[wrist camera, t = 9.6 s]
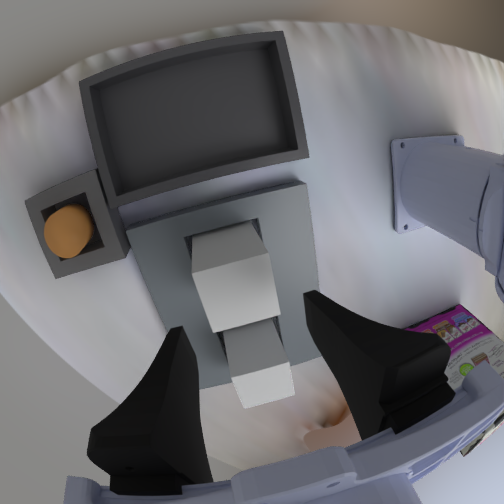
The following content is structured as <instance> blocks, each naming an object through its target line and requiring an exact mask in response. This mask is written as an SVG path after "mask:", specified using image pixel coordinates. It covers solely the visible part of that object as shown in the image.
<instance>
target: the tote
mask: <svg viewBox="0 0 504 504" xmlns="http://www.w3.org/2000/svg"><path fill="white" fill-rule="evenodd" d="M79 87H80V92H81V98H82V103H83V108H84V113H85V118H86V122H87V127H88V131H89V135H90V139H91V143H92V147H93V151H94V155H95V159H96V162H97V166H98V170H99V173H100V176H101V180H102V183H103V186H104V190H105V193H106V196H107V199H108V202H109V205H110V208H111V209H113V208H116V207H119V206H122V205H125V204H128V203H131V202H134V201H137V200H140V199H143V198H147V197H150V196H153V195H156V194H160V193H163V192H166V191H170V190H173V189H177V188H180V187H184V186H188V185H191V184H195V183H199V182H202V181H206V180H210V179H214V178H218V177H222V176H226V175H230V174H234V173H238V172H243V171H247V170H251V169H256V168H260V167H265V166H270V165H274V164H279V163H284V162H289V161H294V160H299V159H305V158H309V152H308V146H307V140H306V134H305V129H304V123H303V118H302V113H301V108H300V103H299V98H298V93H297V88H296V83H295V79H294V74H293V70H292V65H291V61H290V57H289V53H288V49H287V45H286V41H285V37H284V33H283V31H275V32H262V33H253V34H244V35H237V36H230V37H224V38H218V39H212V40H207V41H202V42H197V43H192V44H188V45H184V46H180V47H176V48H172V49H168V50H164V51H161V52H157V53H154V54H150V55H147V56H144V57H141V58H138V59H135V60H132V61H129V62H126V63H123V64H120V65H118V66H115V67H112V68H110V69H107V70H105V71H102V72H100V73H97V74H95V75H93V76H90V77H88V78H86V79H84V80H81V81H79Z"/></svg>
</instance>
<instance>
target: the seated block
mask: <svg viewBox="0 0 504 504" xmlns="http://www.w3.org/2000/svg"><path fill="white" fill-rule="evenodd" d="M223 335H224V341H225V347H226V353H227V359H228V364H229V370H230V375H231V379H232V382H233V384H234V386H235V389H236V391H237V394H238V396H239V398H240V401H241V403H242V405H243V407H244V409H245V408H249V407H253V406H257V405H261V404H265V403H269V402H272V401H276V400H279V399H283V398H286V397H289V396H292V395H295V392H294V386H293V380H292V374H291V369H290V363H289V360H288V357H287V355H286V353H285V350H284V348H283V345H282V343H281V340H280V338H279V336H278V333H277V331H276V328H275V326H274V323H273V321H272V318H271V317H270V318H267V319H263V320H260V321H256V322H253V323H249V324H246V325H242V326H238V327H234V328H231V329H227V330H223Z"/></svg>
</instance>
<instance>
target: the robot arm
mask: <svg viewBox="0 0 504 504" xmlns="http://www.w3.org/2000/svg"><path fill="white" fill-rule="evenodd" d="M401 143H402V147H401V146H400V145H401ZM391 152H392V164H393V178H394V199H395V231H396V232H397V233H399V234H402V233H405V232H408V231H411V230H414V229H418V228H421V227H424V226H428V227H430V228H432V229H434V230H436V231H438V232H439V233H441V234H443V235H445V236H447V237H449V238H450V239H452V240H454V241H456V242H457V243H459V244H461V245H462V246H464V247H466V248H468V249H469V250H471V251H473V252H474V253H476V254H478V255H479V256H481V257H482V258H484V259H485V270H487V271H488V272H490V273H491V274H492V275H494V276H495V288H496V291H497V294H498V296H499V298H500V299H501V301H502V302H503V303H504V155H500V154H496V153H492V152H488V151H484V150H480V149H475V148H471V147H466V146H464V138H463V136H461V135H447V136H429V137H415V138H403V139H394V140H393V141H392V142H391ZM404 226H405V228H404ZM303 299H304V307H305V315H306V324H307V328H308V330H309V332H310V335H311V337H312V339H313V341H314V343H315V345H316V347H317V348H318V350H319V351H320V353H321V355H322V356H323V358H324V360H325V361H326V363H327V365H328V366H329V368H330V369H331V371H332V373H333V374H334V376H335V378H336V380H337V382H338V384H339V386H340V388H341V390H342V392H343V395H344V397H345V399H346V401H347V404H348V406H349V408H350V411H351V413H352V416H353V418H354V421H355V423H356V426H357V428H358V431H359V434H360V436H361V439H362V441H360V442H358V443H356V444H353V445H350V446H348V447H346V448H344V447H336V446H332V447H327V448H324V449H319V450H316V451H313V452H310V453H307V454H304V455H300V456H297V457H294V458H290V459H287V460H283V461H279V462H276V463H272V464H268V465H264V466H259V467H255V468H251V469H248V470H245V471H241V472H239V473H238V474H236V475H234V476H233V477H232V478H231V480H226V481H219V482H213V478H212V475H211V471H210V467H209V463H208V458H207V454H206V449H205V444H204V439H203V433H202V427H201V420H200V402H199V371H198V364H197V357H196V354H195V352H194V350H193V348H192V345H191V343H190V341H189V339H188V337H187V334H186V332H185V330H184V328H183V325H182V326H178V327H174V328H170V330H169V332H168V334H167V336H166V338H165V340H164V342H163V344H162V346H161V348H160V350H159V351H158V353H157V355H156V357H155V359H154V361H153V362H152V364H151V366H150V367H149V369H148V371H147V372H146V374H145V375H144V377H143V378H142V380H141V381H140V382H139V384H138V385H137V386H136V388H135V389H134V390H133V391H132V392H131V393H130V395H129V396H128V397H127V398H126V399H125V400H124V401H123V402H122V403H121V404H120V405H119V406H118V407H117V408H116V409H115V410H114V411H113V412H112V413H111V414H110V415H108V416H107V417H106V418H105V419H103V420H102V421H101V422H100V423H98V424H97V425H95V426H94V427H93V428H92V429H91V432H90V437H89V442H88V448H87V456H88V457H89V459H90V460H91V461H92V462H93V463H94V464H95V465H97V466H98V467H99V468H101V469H102V470H104V471H105V472H107V473H108V474H109V475H110V486H100V485H99V484H98V483H97V482H95V481H93V480H91V479H88V478H84V477H75V476H67V481H66V488H65V495H64V504H422V503H421V501H420V499H419V497H418V495H417V493H416V492H415V490H414V488H413V486H412V484H413V483H415V482H416V481H418V480H419V479H421V478H423V477H424V476H426V475H427V474H429V473H430V472H432V471H433V470H435V469H436V468H437V467H439V466H440V465H442V464H443V463H444V462H446V461H447V460H448V459H450V458H451V457H452V456H454V455H455V454H456V453H458V452H459V451H460V450H462V449H463V448H464V447H465V446H466V445H468V444H469V443H470V442H471V441H473V440H474V439H475V438H476V437H477V436H479V435H480V434H481V433H482V432H483V431H484V430H486V429H487V428H488V427H489V426H490V425H491V424H492V423H493V422H494V421H495V420H496V419H497V417H498V416H499V415H500V413H501V412H502V411H503V409H504V379H503V378H502V377H501V376H500V375H499V374H498V373H497V372H496V371H495V370H494V369H493V368H492V366H491V365H490V364H489V363H488V362H487V361H486V360H484V361H482V362H481V363H480V364H478V365H477V366H476V367H474V368H473V369H472V370H470V371H469V372H468V373H467V375H466V376H465V377H464V379H463V381H462V385H460V386H459V387H458V388H456V389H455V390H453V389H452V388H451V386H450V385H449V384H448V383H447V381H448V377H447V376H446V374H445V373H444V372H445V370H446V367H447V365H448V362H449V359H450V356H451V348H450V346H449V345H448V344H447V343H446V342H445V341H444V340H443V339H442V338H441V337H440V336H439V335H438V334H437V333H425V332H415V331H409V330H403V329H398V328H394V327H391V326H387V325H384V324H380V323H377V322H375V321H372V320H369V319H367V318H365V317H362V316H360V315H358V314H356V313H354V312H352V311H350V310H348V309H346V308H344V307H343V306H341V305H339V304H337V303H336V302H334V301H332V300H331V299H329V298H328V297H326V296H324V295H323V294H321V293H320V292H318V291H316V290H312V291H308V292H305V293H303Z"/></svg>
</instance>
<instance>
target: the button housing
mask: <svg viewBox="0 0 504 504" xmlns="http://www.w3.org/2000/svg"><path fill="white" fill-rule="evenodd" d="M83 192H85V193H86V196H87V199H88V202H89V205H90V208H91V211H92V214H93V217H94V220H95V222H96V225H97V228H98V231H99V233H100V236H101V239H102V240H100V241H97V242H94V243H91V244H88V245H85V247H84V248H83V249H82V250H81V251H80V252H79V254H77V255H76V256H75V257H72V258H62V257H59V256H57V255H56V254H54V253H53V252H52V251H51V250H50V248H49V247H48V245H47V243H46V241H45V237H44V227H45V223H46V221H47V219H48V218H49V217H50V216H51V215H52V214H54V213H55V212H56V210H55V208H54V204H57V203H59V202H61V201H64V200H66V199H69V198H71V197H73V196H76V195H78V194H81V193H83ZM25 204H26V207H27V210H28V213H29V216H30V219H31V222H32V224H33V227H34V230H35V232H36V235H37V237H38V240H39V242H40V245H41V247H42V250H43V252H44V254H45V257H46V259H47V261H48V263H49V266H50V268H51V270H52V272H53V274H54V276H55V278H56V279H57V278H61V277H64V276H67V275H70V274H73V273H77V272H80V271H83V270H87V269H90V268H93V267H96V266H100V265H103V264H107V263H110V262H113V261H117V260H120V259H124V258H126V256H127V254H128V252H129V250H130V248H131V244H130V242H129V239H128V236H127V234H126V230H125V227H124V224H123V222H122V219H121V216H120V213H119V210H118V207H116V208H113V209H111V208H110V205H109V202H108V199H107V196H106V193H105V190H104V186H103V183H102V180H101V176H100V173H99V170H98V168H97V169H94V170H91V171H89V172H86V173H84V174H82V175H79V176H77V177H74V178H72V179H70V180H67V181H65V182H63V183H61V184H58V185H56V186H54V187H52V188H50V189H47V190H45V191H43V192H41V193H39V194H37V195H35V196H33V197H31V198H29V199H27V200H25Z"/></svg>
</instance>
